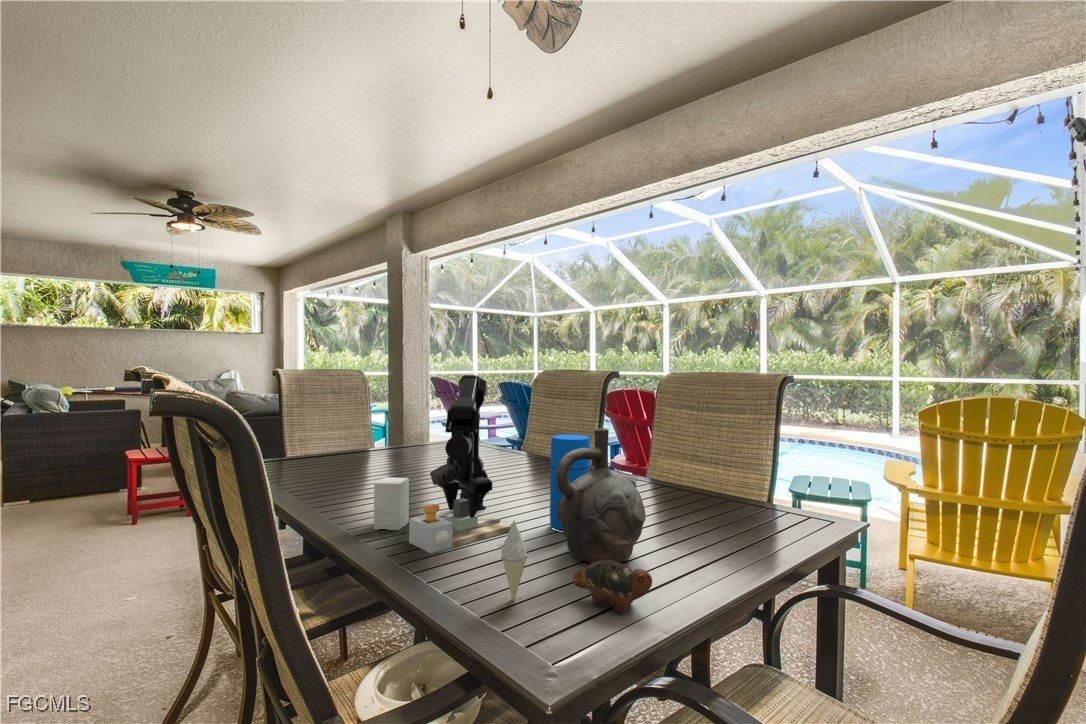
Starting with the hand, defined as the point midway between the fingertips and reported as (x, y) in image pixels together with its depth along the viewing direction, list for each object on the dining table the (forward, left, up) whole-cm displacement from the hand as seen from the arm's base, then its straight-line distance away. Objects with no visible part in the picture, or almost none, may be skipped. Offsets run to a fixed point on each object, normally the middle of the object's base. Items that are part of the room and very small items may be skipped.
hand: (461, 513), depth 132 cm
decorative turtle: (+1, +50, -6) cm, 50 cm away
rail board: (-3, 0, -6) cm, 7 cm away
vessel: (-16, +32, -6) cm, 36 cm away
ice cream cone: (+13, +36, -6) cm, 39 cm away
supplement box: (+9, -20, -6) cm, 23 cm away
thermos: (-27, +13, -6) cm, 31 cm away
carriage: (0, 0, -3) cm, 3 cm away
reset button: (+9, 0, 0) cm, 9 cm away
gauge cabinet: (+9, 0, -6) cm, 11 cm away
